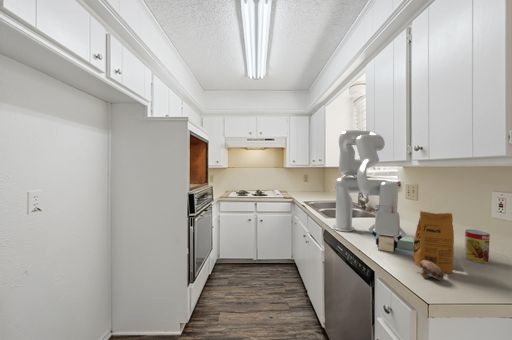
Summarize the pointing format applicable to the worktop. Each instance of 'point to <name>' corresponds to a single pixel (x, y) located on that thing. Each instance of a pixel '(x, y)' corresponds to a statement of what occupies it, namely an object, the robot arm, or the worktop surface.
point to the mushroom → (430, 270)
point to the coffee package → (435, 240)
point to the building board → (401, 252)
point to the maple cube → (386, 242)
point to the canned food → (477, 246)
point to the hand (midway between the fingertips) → (386, 247)
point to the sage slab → (406, 243)
